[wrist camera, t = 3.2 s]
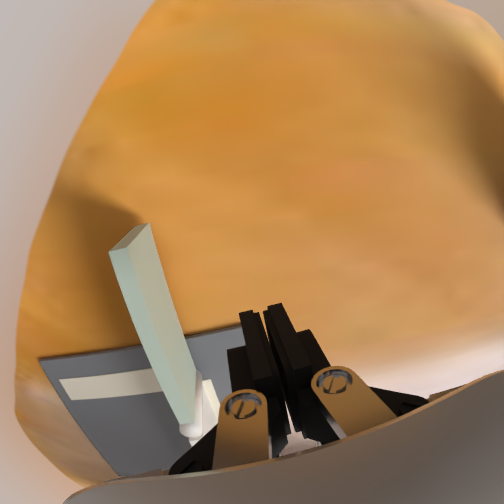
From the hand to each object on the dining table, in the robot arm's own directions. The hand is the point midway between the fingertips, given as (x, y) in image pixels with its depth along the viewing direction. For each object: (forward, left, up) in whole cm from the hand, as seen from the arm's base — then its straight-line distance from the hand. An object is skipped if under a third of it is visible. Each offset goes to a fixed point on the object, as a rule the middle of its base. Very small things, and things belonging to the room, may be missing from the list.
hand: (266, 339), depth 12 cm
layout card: (-18, +12, -15) cm, 26 cm away
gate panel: (-5, +7, -14) cm, 16 cm away
